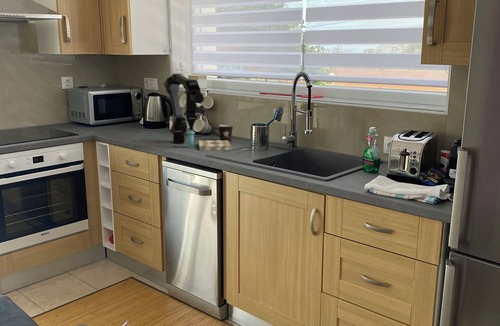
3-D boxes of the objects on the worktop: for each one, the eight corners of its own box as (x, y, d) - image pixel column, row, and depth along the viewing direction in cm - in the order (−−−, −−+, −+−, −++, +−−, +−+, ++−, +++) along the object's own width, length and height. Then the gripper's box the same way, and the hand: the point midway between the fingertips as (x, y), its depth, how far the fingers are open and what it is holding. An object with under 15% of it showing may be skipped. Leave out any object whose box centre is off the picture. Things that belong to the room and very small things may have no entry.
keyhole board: (199, 150, 284) (199, 146, 283) (198, 144, 301) (198, 140, 300) (231, 150, 286) (231, 145, 286) (228, 144, 304) (228, 140, 303)
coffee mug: (234, 140, 316) (234, 125, 314) (229, 143, 308) (229, 127, 306) (217, 139, 320) (217, 123, 318) (212, 141, 312) (212, 125, 310)
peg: (186, 148, 289) (186, 132, 287) (186, 146, 294) (186, 131, 292) (194, 148, 290) (194, 132, 288) (194, 146, 294) (194, 131, 292)
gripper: (206, 103, 278) (206, 131, 282) (203, 100, 296) (203, 126, 300) (186, 103, 276) (186, 131, 280) (185, 100, 294) (185, 126, 298)
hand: (191, 128), depth 289 cm, fingers open, 9 cm apart
